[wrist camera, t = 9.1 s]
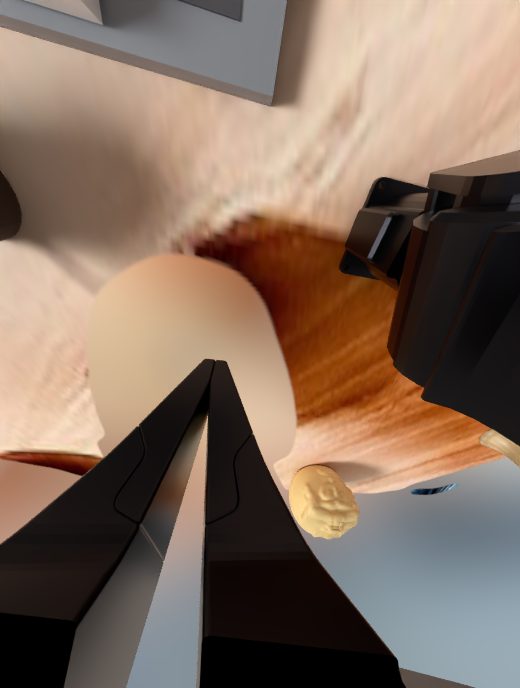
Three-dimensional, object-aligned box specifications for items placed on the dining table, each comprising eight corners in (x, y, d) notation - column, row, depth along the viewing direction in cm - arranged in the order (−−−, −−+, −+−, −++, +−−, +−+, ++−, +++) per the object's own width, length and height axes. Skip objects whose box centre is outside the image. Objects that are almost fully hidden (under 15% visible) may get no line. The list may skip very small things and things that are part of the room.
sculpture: (351, 462, 42) (377, 532, 33) (322, 484, 48) (337, 547, 40) (302, 455, 39) (316, 529, 31) (278, 479, 46) (284, 545, 37)
